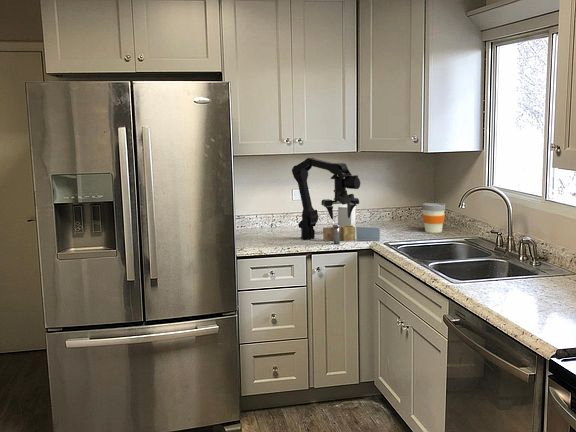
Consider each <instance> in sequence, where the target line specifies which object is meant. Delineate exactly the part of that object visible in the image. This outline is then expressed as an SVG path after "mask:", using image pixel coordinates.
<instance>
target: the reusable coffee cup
mask: <svg viewBox="0 0 576 432" xmlns="http://www.w3.org/2000/svg"><path fill="white" fill-rule="evenodd" d="M421 210H422V220H423V221H422V222H423V224H424V231H425V232H426V233H433V234H436V233H437V234H438V233H442V232H443V227H444V226H443V225H444V222H445V217H446V214H445V211H446V203H441V202H425V203H422V207H421Z"/></svg>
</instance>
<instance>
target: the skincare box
mask: <svg viewBox="0 0 576 432" xmlns="http://www.w3.org/2000/svg"><path fill="white" fill-rule="evenodd" d="M356 209H357V207H356V206H355V207H354V208H353V210H352V212H351V215H350V218H348V211H347V204H341V205H338V206H337V225H340V227H341V226H350V225H352V226H354V227H355V228H356Z"/></svg>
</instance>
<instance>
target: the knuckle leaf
mask: <svg viewBox="0 0 576 432" xmlns="http://www.w3.org/2000/svg"><path fill="white" fill-rule="evenodd" d="M322 229H323V230H322V237H323V242H334V227H333V226H330V227H329V226H328V227H323V228H322ZM339 231H340V241H343V242H353V240H355V241H356V226H355V227H354V226H352V225H350V226H341V227H339Z"/></svg>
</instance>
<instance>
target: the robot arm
mask: <svg viewBox="0 0 576 432" xmlns="http://www.w3.org/2000/svg"><path fill="white" fill-rule="evenodd" d="M312 167H314V168H318V169H323V170H326V171H328V172H329V173H331V174H333V175H332V176H330V180H334V189H333V192H334V197H333V200H332V199H329V198H328V199H327V198H326V199H322V200H321V201H320V202H321V203H320V204H321V206H323V207H324V208H326V210H327V212H328V214H329V217H330V219H331V220H334V212H333V209H334V206H333V205H339V204H340V205H346V206H347V211H348V218H350V215H351V212H352V210H353V208H354V207H355V206H358V205H359V204H360V199H359V198H357V197H355V195H354V193H349V194H348V191H347V189H349V190H350V189H351V190H358V189H359V188H360V186H361V179H360V178H359V175H358V174H355V175H352V172H350V170H349V168H348V166H347V163H345V162H330V161H326V160H322V159H320V158H319V159H318V158H315V157H307V158H306V159H305V160H303V161H301V162H299V163H298V164H297V165H296V164H295V165H294V166H293V167H292V168H291V172H292V173H291V174H292V175H293V178H294V180H295V181H296V182H297V185H298V190H299V191H298V192H299V195H300V199H301V204H302V212H301V220H300V221H299V223H298V224H297V226H298V228H299V229H300V232H301V233H300V235H301V236H300V239H301V240H315V237H316V233H315V228H314V227H316V225H317V222H318V220H319V214H318V210H317V209H315V208H314V207H313V203H312V199H311V195H310V190H309V185H308V177H309V171H310V170H311V169H312Z"/></svg>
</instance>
